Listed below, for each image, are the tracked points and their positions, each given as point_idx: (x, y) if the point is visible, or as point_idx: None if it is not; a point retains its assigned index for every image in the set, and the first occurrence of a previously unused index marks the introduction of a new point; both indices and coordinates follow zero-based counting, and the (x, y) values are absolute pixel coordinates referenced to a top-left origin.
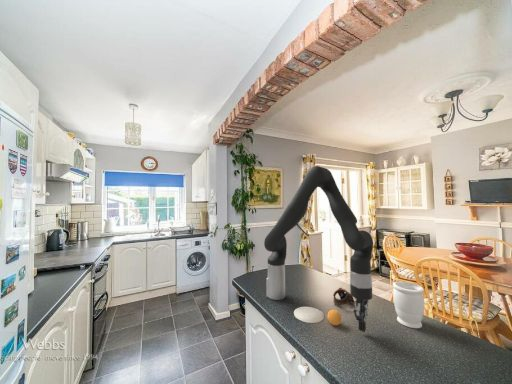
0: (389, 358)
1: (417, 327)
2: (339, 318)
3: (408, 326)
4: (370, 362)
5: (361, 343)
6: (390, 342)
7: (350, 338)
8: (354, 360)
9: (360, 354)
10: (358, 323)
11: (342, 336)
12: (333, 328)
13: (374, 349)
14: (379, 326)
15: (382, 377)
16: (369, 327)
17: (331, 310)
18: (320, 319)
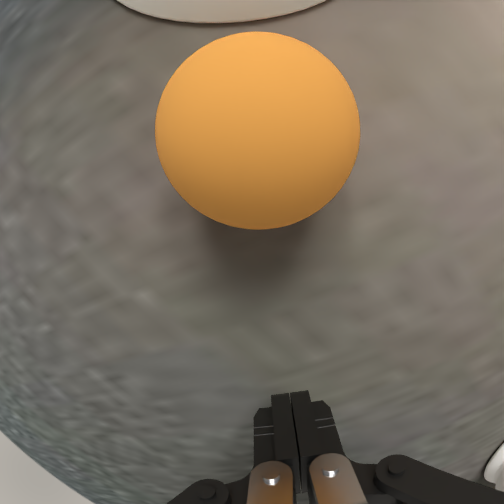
0: (173, 498)
1: (487, 480)
2: (227, 221)
3: (488, 466)
4: (73, 448)
5: (166, 408)
6: None
7: (154, 342)
8: (21, 395)
9: (74, 415)
10: (273, 431)
11: (125, 285)
12: None
13: (178, 460)
14: (454, 407)
15: (54, 472)
16: (414, 382)
17: (237, 64)
18: (221, 7)
